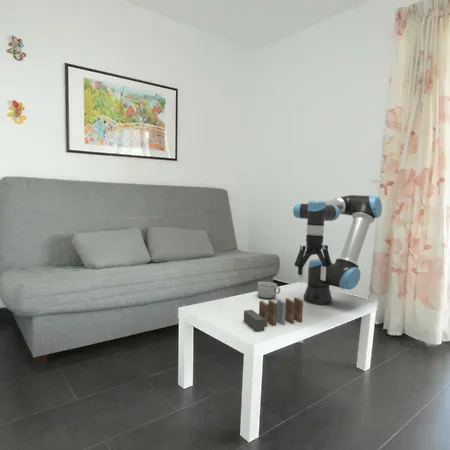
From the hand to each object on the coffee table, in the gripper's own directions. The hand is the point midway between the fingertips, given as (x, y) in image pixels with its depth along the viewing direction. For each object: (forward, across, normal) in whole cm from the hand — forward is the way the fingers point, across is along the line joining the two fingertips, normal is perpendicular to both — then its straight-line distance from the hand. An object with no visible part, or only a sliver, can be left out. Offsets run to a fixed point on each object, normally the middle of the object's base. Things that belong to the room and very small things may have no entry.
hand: (312, 280), depth 155 cm
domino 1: (+18, +25, 0) cm, 31 cm away
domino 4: (+18, +12, 0) cm, 21 cm away
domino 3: (+18, +16, 0) cm, 24 cm away
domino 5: (+18, +7, 0) cm, 19 cm away
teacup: (+18, +3, -34) cm, 39 cm away
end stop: (+18, +30, 0) cm, 35 cm away
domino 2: (+18, +20, 0) cm, 27 cm away
